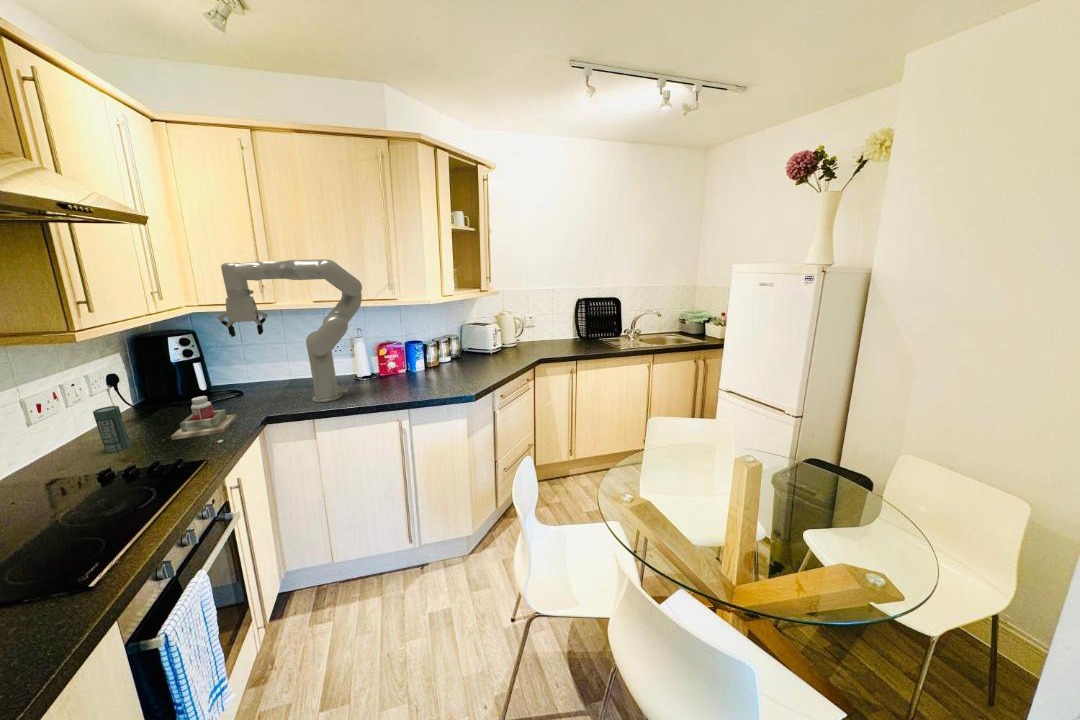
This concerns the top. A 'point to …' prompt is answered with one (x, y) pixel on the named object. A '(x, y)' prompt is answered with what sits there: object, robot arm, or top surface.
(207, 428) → the socket board
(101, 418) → the can
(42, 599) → the top surface
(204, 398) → the pill bottle
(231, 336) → the robot arm
